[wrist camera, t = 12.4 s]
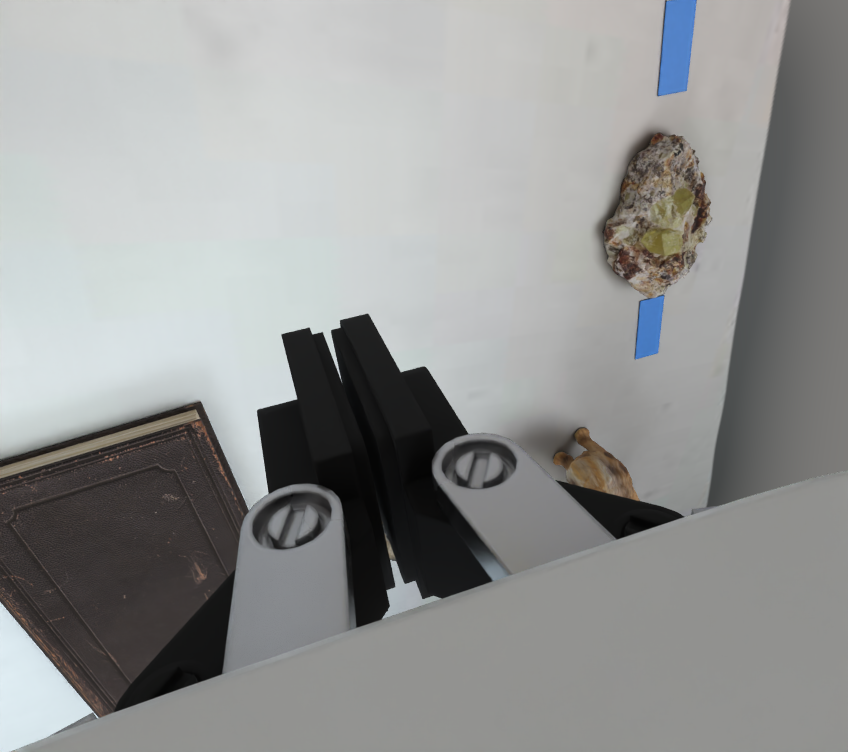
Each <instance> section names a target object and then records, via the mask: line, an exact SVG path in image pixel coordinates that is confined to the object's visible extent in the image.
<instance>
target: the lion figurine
mask: <svg viewBox="0 0 848 752" xmlns="http://www.w3.org/2000/svg"><path fill="white" fill-rule="evenodd" d="M574 436H575V438H576V440H577V442H578V444H580V445H581V446H583V447H584V448H586V449H587V450H588V451H584V452H583V453H582V455H580V456H578V457H577V458H576V459H575V460H574V459H573V458H572V456H570V455H568V454H566V453H565V452H558V453H556V455H555V457H554V461H553V463H554V464H555V465H562V466H563V467H564V468H565V469H566V470H567V473H566V479H567V482H568V483H569V484H573V485H577V486H581V487H585V488H589V489H593V490H597V491H601V492H605V493H609V494H613V495H617V496H621V497H625V498H629V499H633V500H637V501H640V500H639V499H638V496H637V494H636V492H635V490H634V488H633V487H632V479H631V477H630V475H629V472H628V471H627V469H626V467H625V466H624V465H623V464H622V463H621V462H620V461H619V460H617V459H616V458H615V457H614V456H613V455H612V454H610V453H609V452H607V451H606V450H605V449H603V448H602V447H601V446H599V445H598V444H597V443H596V442H594V441H593V440H592V439H591V438H590V436H589V430H588V429H586V428H581V429H579V430H577V432H576V433H575V434H574Z"/></svg>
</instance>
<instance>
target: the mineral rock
mask: <svg viewBox="0 0 848 752" xmlns="http://www.w3.org/2000/svg"><path fill="white" fill-rule="evenodd" d="M694 153H695V150H693V149H691V146H690V144H689V143H688V142H686V140H685V139H684V137H683V136H680V137H679V136H676V135H675V134H674V135H672V136H669V137H667V136H664V135H663V134H661V133H657V134H655V135H654V137H653V138H652V140H651V142H650V144H649V146H648V147H647V148H646V149H645V150H642V151H641V152H638V153H637V154H636V155H635V157H634V158H633V159H632V161H631V162H630V164H629V166H628V172H627V175H626V177H625V178H624V179H623V182H622V184H621V191H620V204H619V206H618V207H617V209H616V212H615V214H614V217H613V218H610V219H608V220H607V222H606V226H605V230H604V231H603V233H604V247H605V248H606V251H607V254H608V255H609V258H608V260H607V262H608V263H609V264H610V265H611V266H612V268H613V271H614V272H615V273H616V274H617V275H619V276H621V277H623V278H625V279H626V280H627V281H628V282H629V283H630V284H631V286H632V287H633V288H634V289H636V290H637V291H639V292H640V293H642V294H643V295H644V296H646V297H648V298H656V297H657V296H659V295H661V294H665V292H666V290H667V288H668V287H669V286H671V285H672V284H675V283H676V282H677V280H678V279H680V278H684V277H685V276H686V274H687V273H688V272H689V269H690V268H691V266H692V265H693V263H694V262H695V259H696V258H697V256H698V255H697V254H696V253H695V247H696V245H697V244H698V243H699V242H702V243H703V242H704V240H705V238H706V235H707V233H706V232H705V227H706V226H707V225H708V224H709V223H710V222H711V220H712V218H711V216H710V214H709V213H710V208H709V206H710V204H711V202H710V200H709V198H708V196H707V194H705V185H706V181H705V180H704V175H703V173H702V172H701V171H700V170H699V168H698V163H699V161H698V158H697V157H696V156H695V154H694Z"/></svg>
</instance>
